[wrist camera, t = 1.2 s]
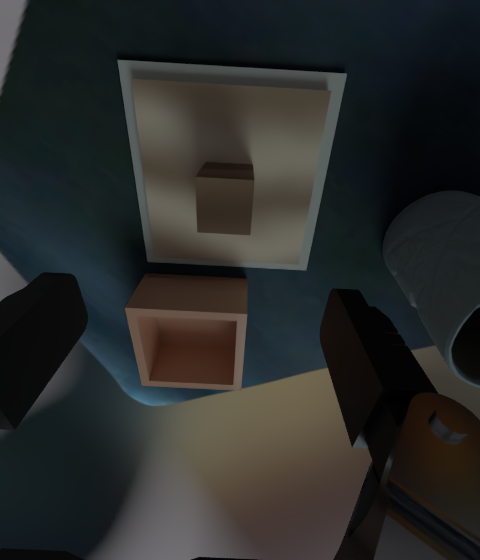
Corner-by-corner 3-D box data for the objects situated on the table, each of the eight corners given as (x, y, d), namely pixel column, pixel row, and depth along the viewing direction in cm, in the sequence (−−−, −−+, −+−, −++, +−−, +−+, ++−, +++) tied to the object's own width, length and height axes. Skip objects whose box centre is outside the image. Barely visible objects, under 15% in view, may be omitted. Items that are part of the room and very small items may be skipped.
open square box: (145, 272, 27) (124, 307, 23) (247, 278, 27) (247, 314, 23) (156, 345, 33) (142, 385, 28) (241, 349, 33) (240, 390, 28)
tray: (119, 60, 18) (117, 59, 18) (345, 74, 18) (346, 73, 18) (148, 259, 26) (147, 261, 26) (305, 268, 27) (306, 270, 26)
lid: (135, 79, 19) (95, 71, 14) (328, 91, 19) (357, 87, 14) (156, 252, 26) (135, 288, 21) (297, 260, 26) (309, 297, 21)
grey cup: (521, 201, 23) (739, 279, 13) (442, 296, 28) (552, 406, 18) (411, 167, 22) (556, 223, 11) (350, 273, 27) (413, 377, 17)
